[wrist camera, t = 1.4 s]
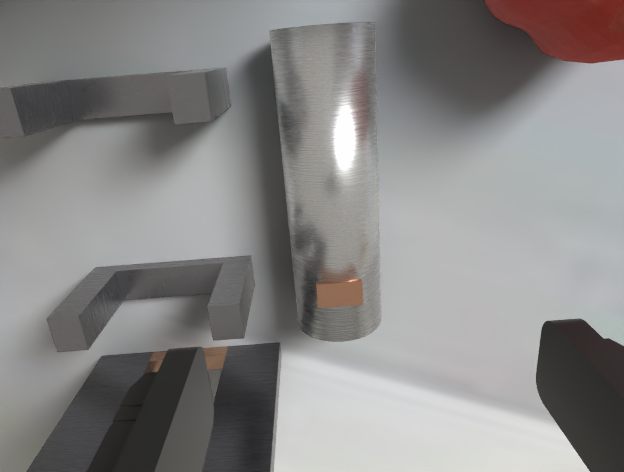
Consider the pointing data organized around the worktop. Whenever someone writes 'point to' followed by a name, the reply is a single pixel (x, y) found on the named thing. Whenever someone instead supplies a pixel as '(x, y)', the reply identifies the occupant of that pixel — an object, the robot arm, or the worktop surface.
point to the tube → (331, 174)
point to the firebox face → (227, 410)
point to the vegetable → (568, 26)
